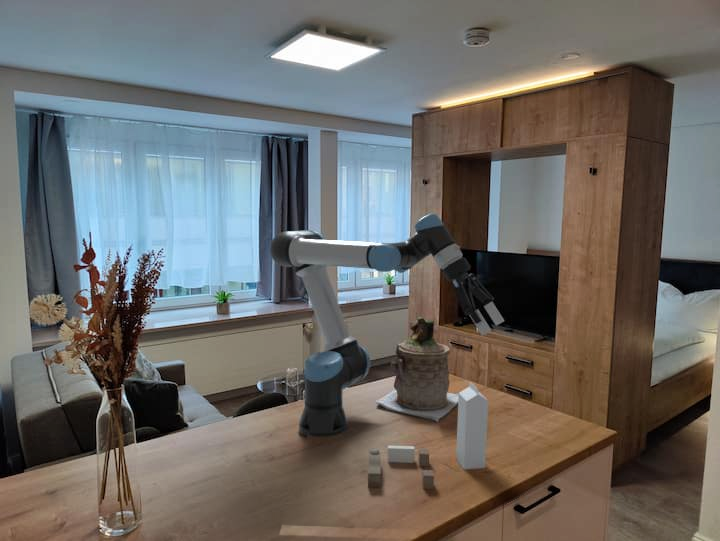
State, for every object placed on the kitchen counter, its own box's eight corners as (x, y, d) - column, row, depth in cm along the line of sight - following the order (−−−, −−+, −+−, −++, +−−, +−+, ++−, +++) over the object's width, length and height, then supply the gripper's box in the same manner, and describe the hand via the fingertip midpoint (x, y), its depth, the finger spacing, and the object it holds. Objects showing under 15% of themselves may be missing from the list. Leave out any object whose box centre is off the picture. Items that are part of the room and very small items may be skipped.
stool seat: (363, 494, 116) (363, 474, 115) (365, 462, 131) (365, 444, 130) (435, 497, 115) (435, 476, 114) (428, 464, 130) (429, 446, 129)
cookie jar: (465, 400, 176) (468, 313, 172) (438, 424, 155) (442, 326, 152) (404, 386, 189) (406, 306, 185) (372, 407, 168) (374, 317, 165)
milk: (476, 457, 134) (480, 380, 132) (485, 468, 129) (489, 388, 126) (455, 458, 134) (458, 381, 131) (463, 470, 128) (467, 389, 125)
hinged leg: (368, 462, 128) (369, 448, 128) (380, 462, 128) (380, 449, 128) (368, 487, 116) (368, 472, 116) (380, 487, 116) (380, 472, 116)
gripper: (447, 259, 125) (492, 330, 121) (476, 253, 147) (516, 313, 142) (425, 274, 129) (468, 344, 125) (457, 266, 150) (494, 325, 146)
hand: (493, 328), depth 133 cm, fingers open, 13 cm apart
